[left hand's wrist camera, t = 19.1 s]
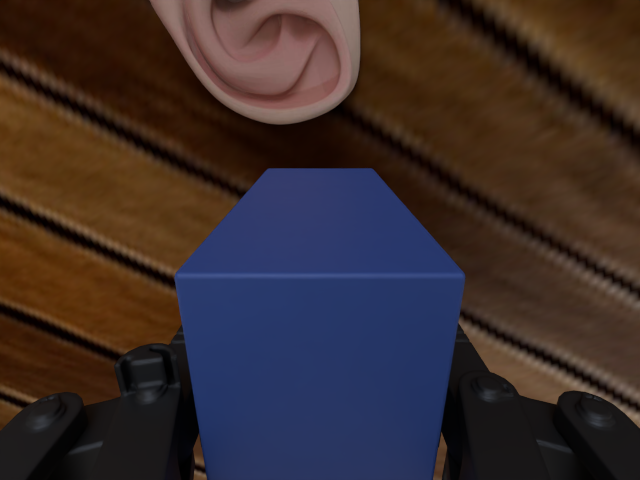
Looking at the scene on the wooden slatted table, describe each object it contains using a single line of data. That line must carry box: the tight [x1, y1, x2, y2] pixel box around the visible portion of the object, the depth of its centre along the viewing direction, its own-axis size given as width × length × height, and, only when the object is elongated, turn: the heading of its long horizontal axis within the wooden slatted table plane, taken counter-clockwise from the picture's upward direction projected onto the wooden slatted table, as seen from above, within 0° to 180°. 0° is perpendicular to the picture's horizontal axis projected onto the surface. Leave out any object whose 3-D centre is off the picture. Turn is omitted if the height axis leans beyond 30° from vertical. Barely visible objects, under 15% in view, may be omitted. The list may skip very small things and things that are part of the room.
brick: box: [175, 168, 465, 480], centre depth 12 cm, size 9×5×11 cm, turn 0°
